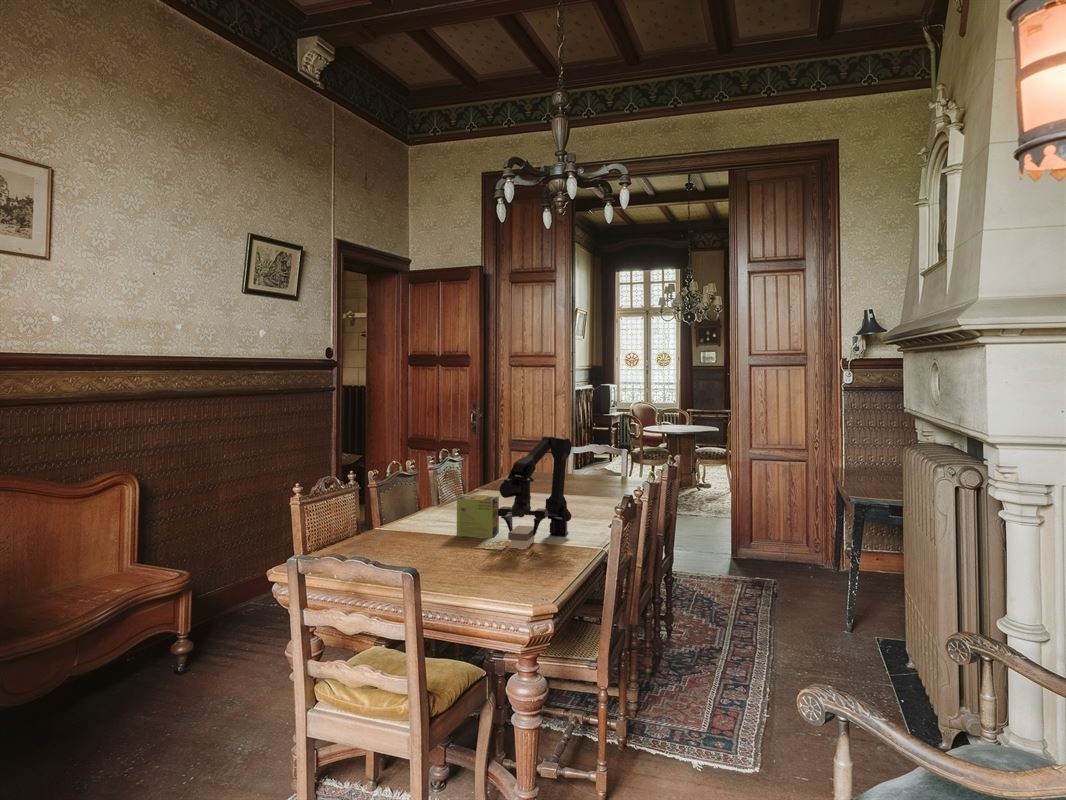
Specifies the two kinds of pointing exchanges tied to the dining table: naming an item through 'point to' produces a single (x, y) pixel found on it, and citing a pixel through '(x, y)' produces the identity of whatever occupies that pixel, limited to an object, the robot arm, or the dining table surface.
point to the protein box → (477, 516)
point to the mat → (494, 543)
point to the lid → (521, 533)
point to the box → (522, 543)
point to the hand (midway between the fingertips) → (522, 534)
